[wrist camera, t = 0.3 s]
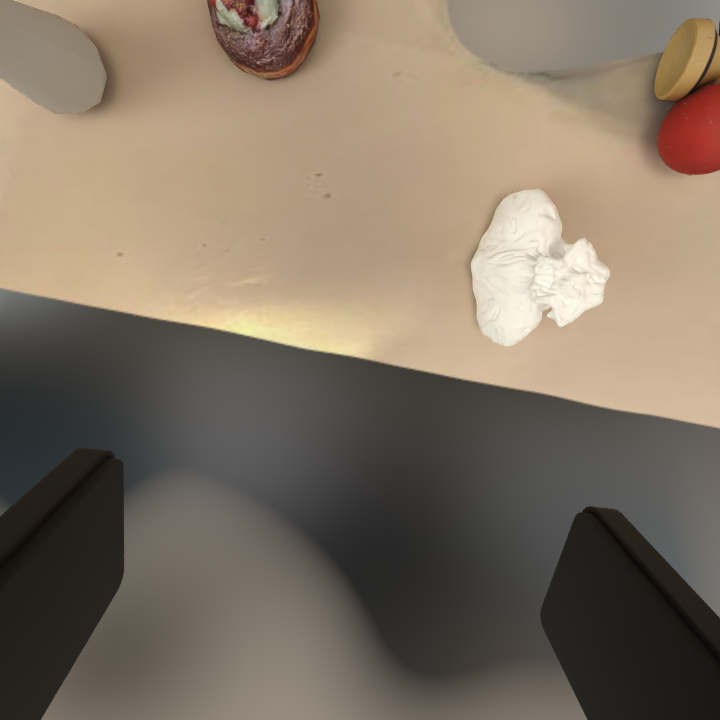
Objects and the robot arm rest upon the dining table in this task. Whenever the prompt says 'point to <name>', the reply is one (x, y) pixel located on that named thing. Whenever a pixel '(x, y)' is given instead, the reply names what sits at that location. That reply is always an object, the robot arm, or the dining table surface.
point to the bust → (532, 270)
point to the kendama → (691, 98)
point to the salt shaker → (49, 59)
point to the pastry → (265, 33)
